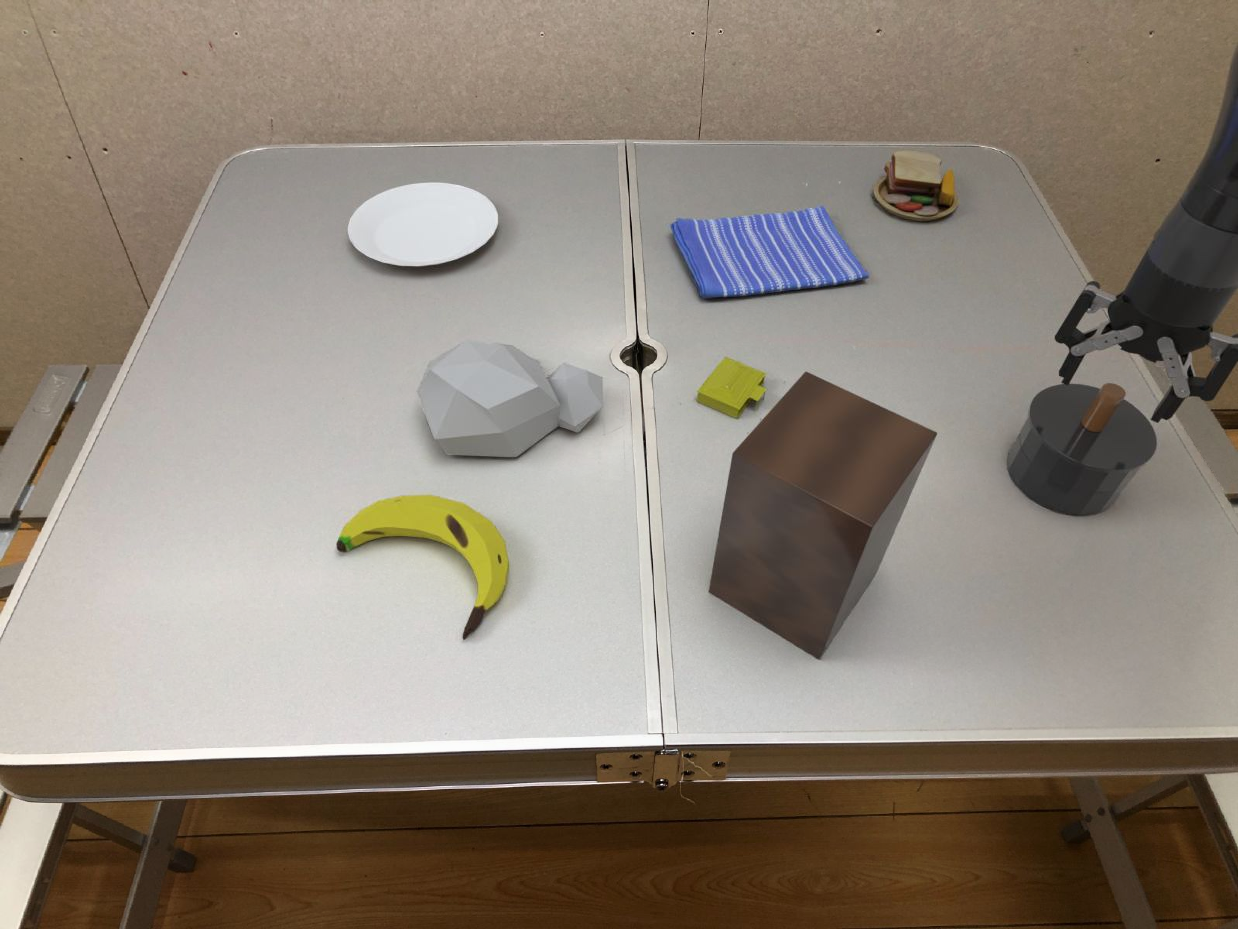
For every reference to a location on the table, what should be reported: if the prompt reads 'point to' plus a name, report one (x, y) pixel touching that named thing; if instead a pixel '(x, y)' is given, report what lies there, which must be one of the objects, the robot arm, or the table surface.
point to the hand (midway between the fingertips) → (1110, 398)
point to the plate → (423, 224)
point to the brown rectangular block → (814, 509)
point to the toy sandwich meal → (916, 187)
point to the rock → (502, 399)
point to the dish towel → (765, 253)
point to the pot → (1061, 478)
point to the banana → (439, 539)
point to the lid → (1092, 427)
